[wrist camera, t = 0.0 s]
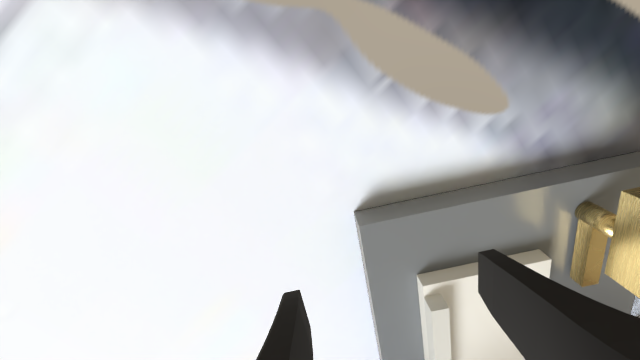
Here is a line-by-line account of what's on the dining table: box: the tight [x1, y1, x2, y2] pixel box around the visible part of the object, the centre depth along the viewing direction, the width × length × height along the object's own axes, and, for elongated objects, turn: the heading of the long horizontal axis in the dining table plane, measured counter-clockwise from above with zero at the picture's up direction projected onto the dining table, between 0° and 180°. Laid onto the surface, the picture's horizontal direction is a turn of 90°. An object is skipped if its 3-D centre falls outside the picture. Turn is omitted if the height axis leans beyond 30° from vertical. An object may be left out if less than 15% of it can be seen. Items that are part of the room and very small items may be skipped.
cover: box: [417, 249, 552, 360], centre depth 23 cm, size 10×9×2 cm
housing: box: [354, 151, 640, 360], centre depth 24 cm, size 17×21×3 cm
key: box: [570, 187, 640, 298], centre depth 19 cm, size 8×1×5 cm, turn 11°
